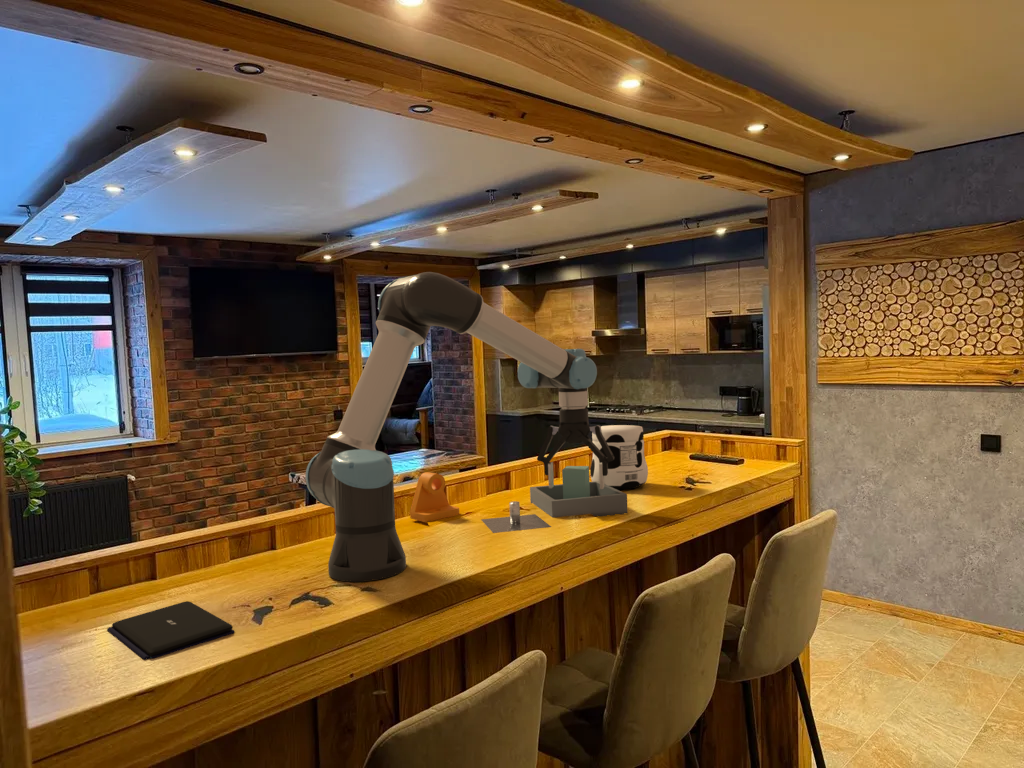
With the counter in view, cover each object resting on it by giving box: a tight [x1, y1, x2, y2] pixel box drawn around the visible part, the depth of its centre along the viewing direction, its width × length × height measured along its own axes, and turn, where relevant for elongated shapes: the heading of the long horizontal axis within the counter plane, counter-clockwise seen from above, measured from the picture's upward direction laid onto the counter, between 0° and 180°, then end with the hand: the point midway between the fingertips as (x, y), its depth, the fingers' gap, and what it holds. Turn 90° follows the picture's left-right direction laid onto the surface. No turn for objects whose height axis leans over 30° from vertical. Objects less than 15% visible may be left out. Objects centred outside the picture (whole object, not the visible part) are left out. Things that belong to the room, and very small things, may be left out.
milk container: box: [589, 424, 649, 490], centre depth 217 cm, size 17×17×18 cm
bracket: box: [409, 471, 460, 523], centre depth 183 cm, size 11×7×12 cm, turn 130°
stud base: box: [480, 500, 552, 534], centre depth 172 cm, size 14×14×6 cm
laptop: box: [106, 601, 236, 661], centre depth 114 cm, size 16×20×2 cm
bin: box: [529, 481, 629, 518], centre depth 188 cm, size 20×20×5 cm
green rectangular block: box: [561, 465, 591, 499], centre depth 188 cm, size 6×6×10 cm
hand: (576, 487), depth 188 cm, fingers open, 13 cm apart
